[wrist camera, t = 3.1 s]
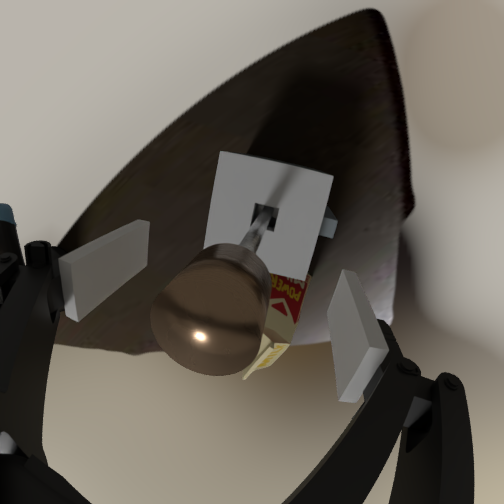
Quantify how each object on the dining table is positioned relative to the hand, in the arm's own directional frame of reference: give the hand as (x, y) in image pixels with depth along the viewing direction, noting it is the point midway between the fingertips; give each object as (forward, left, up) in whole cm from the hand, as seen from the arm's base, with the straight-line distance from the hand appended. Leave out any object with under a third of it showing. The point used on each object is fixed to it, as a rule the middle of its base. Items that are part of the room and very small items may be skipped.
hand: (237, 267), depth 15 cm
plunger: (0, 0, -18) cm, 18 cm away
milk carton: (+3, -13, -28) cm, 31 cm away
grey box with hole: (0, 0, -27) cm, 27 cm away
